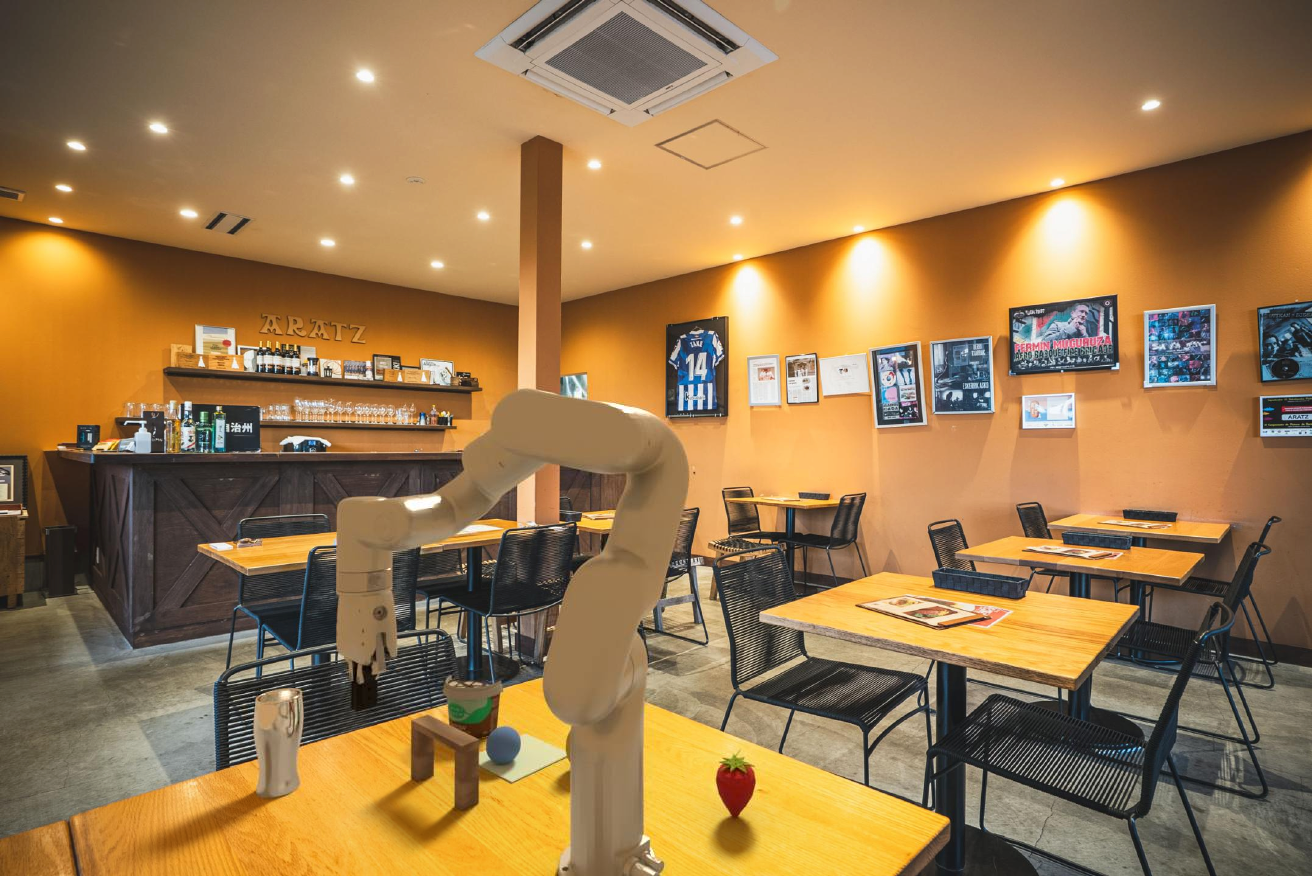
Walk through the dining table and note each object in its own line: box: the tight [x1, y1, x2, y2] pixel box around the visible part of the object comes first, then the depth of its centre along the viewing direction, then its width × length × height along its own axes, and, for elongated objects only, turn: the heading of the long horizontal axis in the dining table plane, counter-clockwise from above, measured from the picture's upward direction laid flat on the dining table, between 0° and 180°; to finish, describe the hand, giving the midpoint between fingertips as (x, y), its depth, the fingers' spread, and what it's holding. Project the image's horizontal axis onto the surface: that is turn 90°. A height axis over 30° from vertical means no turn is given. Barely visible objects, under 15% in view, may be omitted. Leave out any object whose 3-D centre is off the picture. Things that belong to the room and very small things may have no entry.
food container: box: [442, 674, 504, 740], centre depth 124 cm, size 12×6×10 cm, turn 73°
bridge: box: [410, 714, 480, 812], centre depth 104 cm, size 3×15×10 cm, turn 49°
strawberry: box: [715, 749, 757, 818], centre depth 96 cm, size 6×8×10 cm
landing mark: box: [479, 733, 567, 784], centre depth 115 cm, size 13×13×1 cm
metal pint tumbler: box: [253, 687, 304, 799], centre depth 104 cm, size 7×7×15 cm
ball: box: [485, 725, 521, 764], centre depth 113 cm, size 6×6×6 cm
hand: (363, 707), depth 94 cm, fingers closed
